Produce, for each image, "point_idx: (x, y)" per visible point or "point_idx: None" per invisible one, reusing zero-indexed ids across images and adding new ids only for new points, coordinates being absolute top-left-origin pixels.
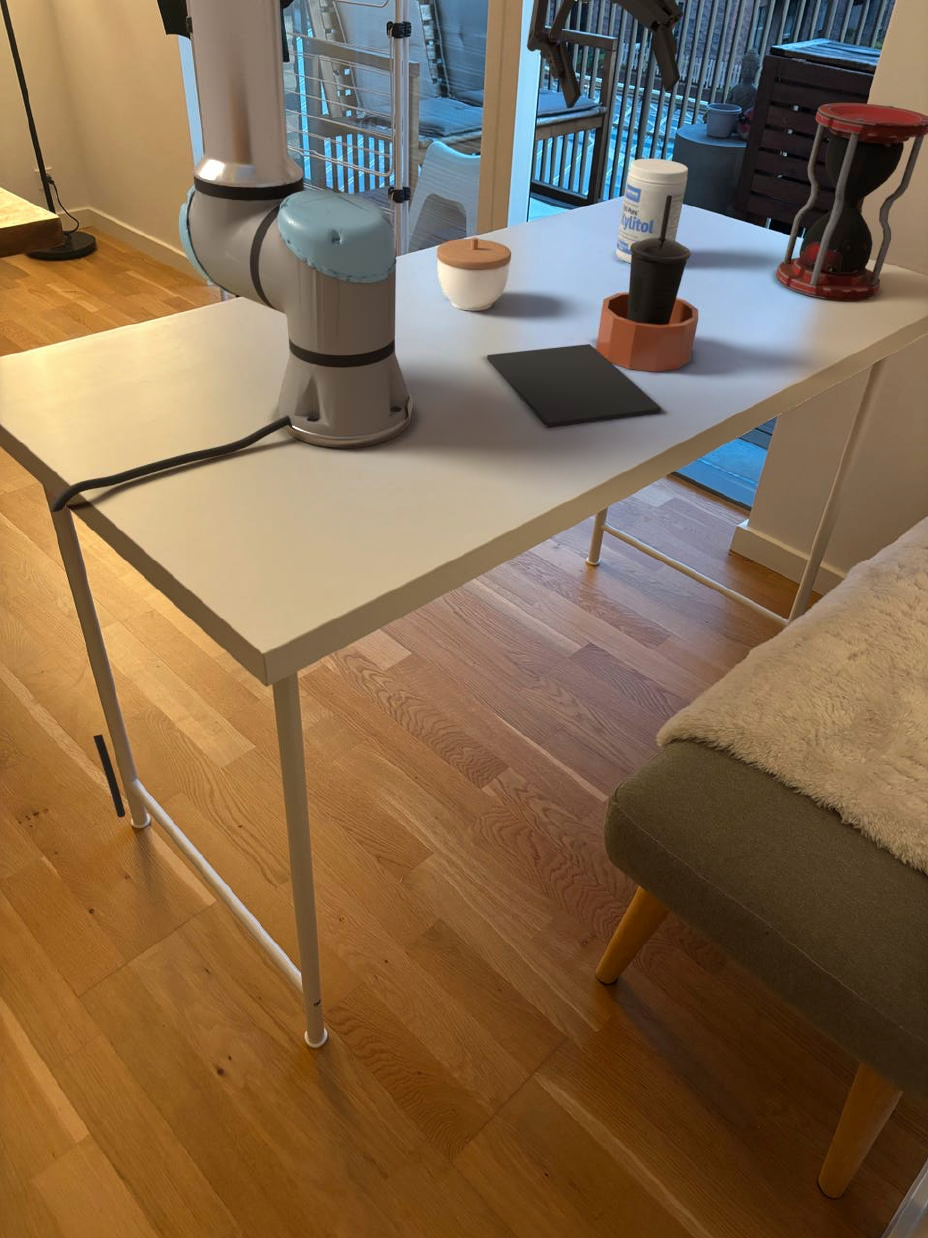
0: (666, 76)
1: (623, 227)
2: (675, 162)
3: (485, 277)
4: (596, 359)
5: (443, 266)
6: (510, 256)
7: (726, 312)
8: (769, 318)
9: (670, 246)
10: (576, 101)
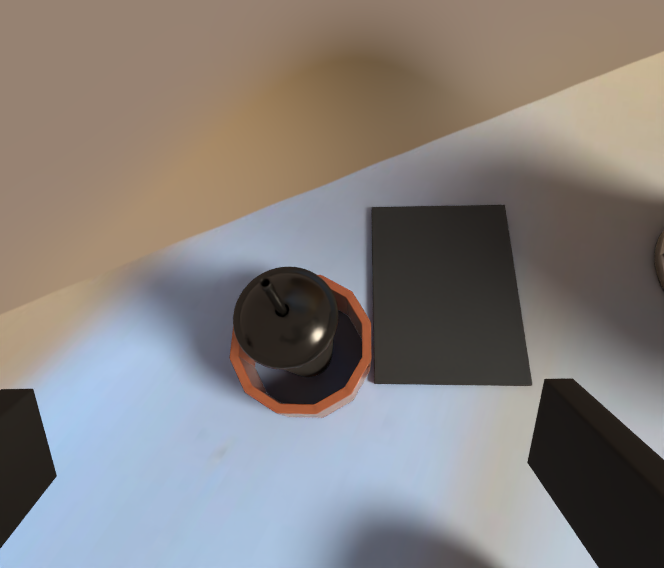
0: (16, 475)
1: None
2: None
3: None
4: (387, 333)
5: None
6: None
7: (103, 455)
8: (63, 415)
9: (282, 285)
10: (536, 422)
